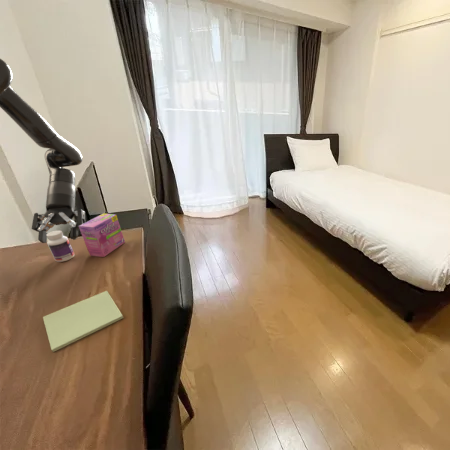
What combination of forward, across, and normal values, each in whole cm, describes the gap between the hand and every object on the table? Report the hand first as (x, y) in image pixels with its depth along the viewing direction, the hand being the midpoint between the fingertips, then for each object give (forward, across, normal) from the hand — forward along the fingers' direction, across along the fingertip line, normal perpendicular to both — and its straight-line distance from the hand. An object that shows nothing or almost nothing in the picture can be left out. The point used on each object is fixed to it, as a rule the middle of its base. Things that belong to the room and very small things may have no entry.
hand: (58, 240), depth 91 cm
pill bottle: (+5, 0, +4) cm, 7 cm away
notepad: (+29, +17, -20) cm, 39 cm away
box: (+3, +12, +6) cm, 14 cm away
